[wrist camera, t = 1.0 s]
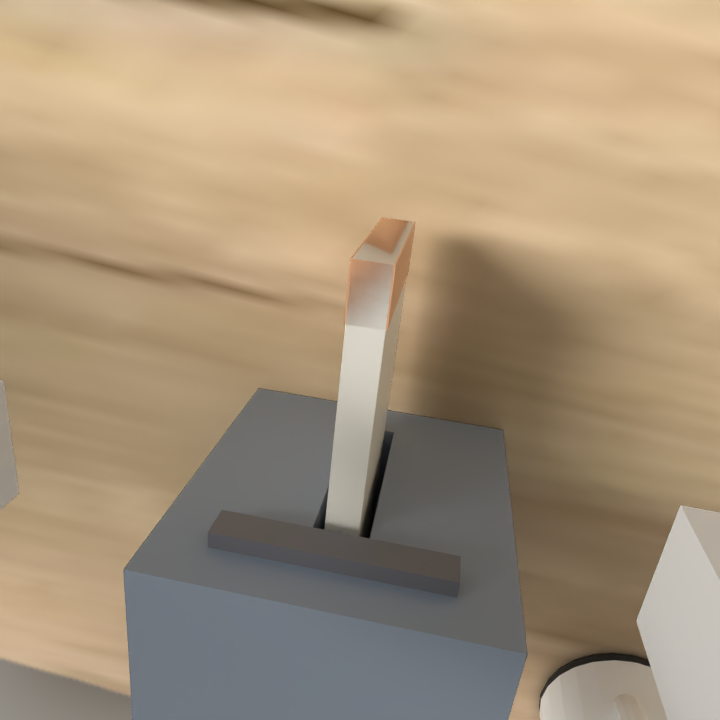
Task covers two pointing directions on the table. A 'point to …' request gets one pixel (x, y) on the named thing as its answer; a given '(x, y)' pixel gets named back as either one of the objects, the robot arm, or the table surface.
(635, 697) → the mug
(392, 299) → the slim white post
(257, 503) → the block
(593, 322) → the table surface
